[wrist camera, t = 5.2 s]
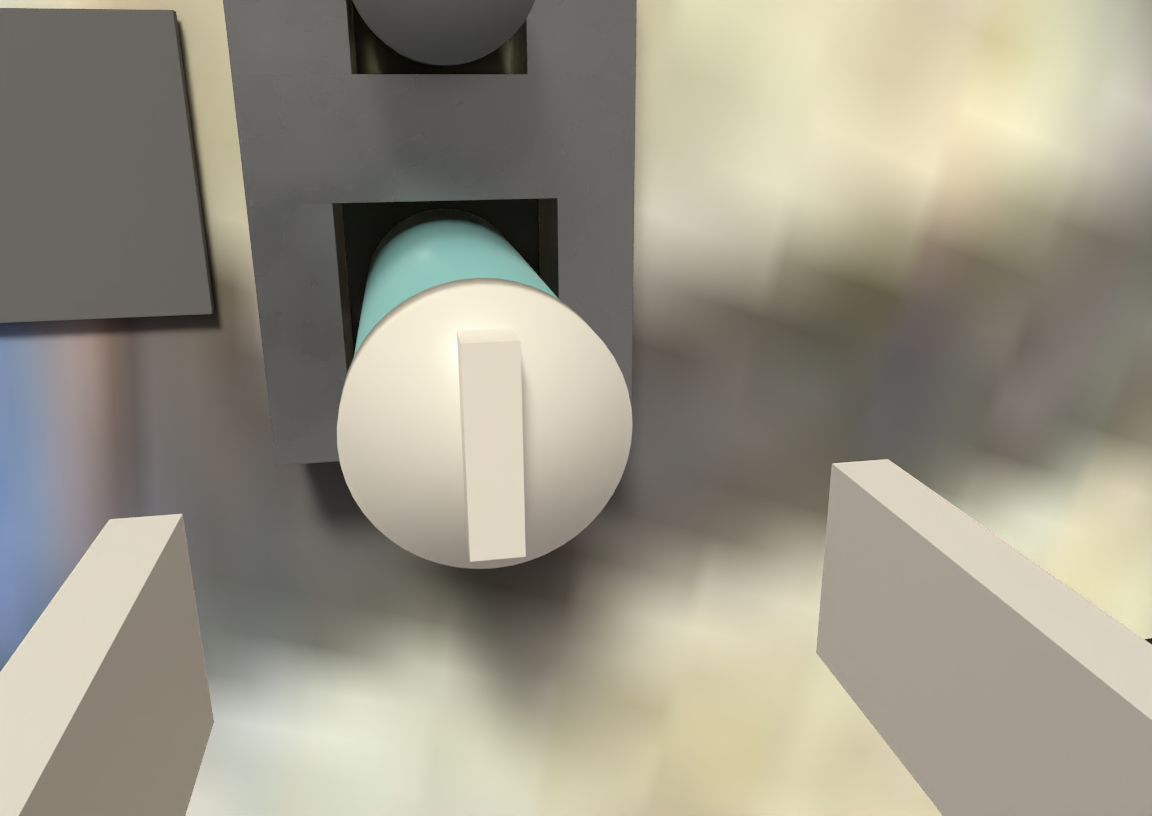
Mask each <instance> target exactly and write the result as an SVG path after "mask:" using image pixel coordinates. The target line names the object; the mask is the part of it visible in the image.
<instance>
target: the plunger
mask: <svg viewBox="0 0 1152 816" xmlns="http://www.w3.org/2000/svg"><path fill="white" fill-rule="evenodd" d="M352 1H353V3H354V5H355V7H356V9H357V11H358V13H359V14H360V16H361V17H362V19H363V20H364V22H365V23H366V24H367V26H368V27H369V28H370V29H371V30H372V31H373V33H374V34H375V35H376V36H377V37H378V38H379V39H381V40H382V41H383V42H384V43H385V44H386V45H388V46H389V47H391V48H392V49H393V50H394V51H396V52H397V53H399V54H400V55H402V56H404V57H406V58H408V59H409V60H412V61H415V62H418V63H422V64H427V65H444V66H447V65H459V64H464V63H468V62H472V61H474V60H477V59H480V58H482V57H484V56H486V55H488V54H489V53H491V52H493V51H494V50H496V49H497V48H499V47H500V46H501V45H503V44H504V43H505V42H507V41H508V40H509V39H510V38H511V37H512V36H513V35H514V34H515V33H516V32H517V30H518V29H519V28H520V27H521V25H522V24H523V23H524V21H525V20H526V18H527V16H528V15H529V13H530V11H531V9H532V7H533V4H534V2H535V0H352Z"/></svg>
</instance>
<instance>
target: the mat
mask: <svg viewBox="0 0 1152 816" xmlns="http://www.w3.org/2000/svg"><path fill="white" fill-rule="evenodd" d="M214 312H215V310H214V303H213V295H212V287H211V279H210V272H209V264H208V256H207V248H206V241H205V233H204V225H203V217H202V210H201V202H200V194H199V186H198V179H197V171H196V163H195V155H194V147H193V140H192V132H191V124H190V116H189V109H188V101H187V93H186V85H185V78H184V70H183V62H182V54H181V47H180V39H179V31H178V23H177V16H176V11H174V10H113V9H26V8H0V323H7V322H31V321H55V320H79V319H103V318H126V317H150V316H174V315H198V314H213V313H214Z"/></svg>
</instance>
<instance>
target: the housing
mask: <svg viewBox="0 0 1152 816" xmlns="http://www.w3.org/2000/svg"><path fill="white" fill-rule="evenodd" d="M223 4H224V12H225V21H226V30H227V39H228V47H229V56H230V65H231V74H232V83H233V91H234V100H235V109H236V118H237V126H238V135H239V144H240V153H241V161H242V170H243V179H244V188H245V196H246V205H247V214H248V223H249V231H250V240H251V249H252V258H253V267H254V275H255V284H256V293H257V302H258V310H259V319H260V328H261V337H262V345H263V354H264V363H265V372H266V380H267V389H268V398H269V407H270V416H271V424H272V433H273V442H274V451H275V459H276V466H277V465H291V464H306V463H320V462H335V461H340V460H339V454H338V448H337V422H338V414H339V407H340V401H341V396H342V391H343V387H344V383H345V379H346V375H347V372H348V369H349V367H350V365H351V362H352V360H353V358H354V347H353V335H352V323H351V311H350V299H349V286H348V274H347V262H346V250H345V238H344V226H343V214H342V203H366V202H409V201H452V200H496V199H538V212H539V264H540V278H541V279H542V281H543V282H544V283H545V284H546V285H547V286H548V287H549V289H550V290H551V291H552V292H553V293H554V294H555V295H556V297H557V298H558V299H559V300H560V301H562V302H563V303H565V304H566V305H567V306H568V307H570V308H571V309H572V310H573V311H575V312H576V313H577V314H578V315H579V316H580V317H581V318H582V319H583V320H584V321H585V322H586V323H587V325H588V326H589V327H590V328H591V329H592V330H593V331H594V332H595V333H596V334H597V336H598V337H599V338H600V339H601V340H602V341H603V342H604V344H605V345H606V346H607V348H608V349H609V351H610V352H611V354H612V355H613V357H614V358H615V360H616V362H617V364H618V366H619V368H620V370H621V372H622V374H623V377H624V380H625V383H626V386H627V389H628V393H629V398H630V403H631V408H632V327H633V244H634V162H635V79H636V0H535V2H534V4H533V7H532V9H531V11H530V13H529V15H528V16H527V18H526V20H525V21H524V23H523V24H522V25H521V27H520V28H519V29H518V30H517V32H516V33H515V34H514V35H513V36H512V37H511V38H510V53H511V74H357V63H356V50H355V36H354V23H353V9H352V0H223Z"/></svg>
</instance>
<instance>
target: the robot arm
mask: <svg viewBox="0 0 1152 816" xmlns="http://www.w3.org/2000/svg"><path fill="white" fill-rule="evenodd" d="M816 653H817V654H818V656H819V657H820V658H821V659H822V661H823V662H824V663H825V665H826V666H827V667H828V668H829V670H830V671H831V672H832V674H833V675H834V676H835V677H836V679H837V680H838V681H839V683H840V684H841V685H842V686H843V688H844V689H845V690H846V692H847V693H848V694H849V695H850V697H851V698H852V699H853V701H854V702H855V703H856V704H857V706H858V707H859V708H860V710H861V711H862V712H863V713H864V715H865V716H866V717H867V719H868V720H869V721H870V722H871V724H872V725H873V726H874V728H875V729H876V730H877V731H878V733H879V734H880V735H881V737H882V738H883V739H884V740H885V742H886V743H887V744H888V746H889V747H890V748H891V749H892V751H893V752H894V753H895V755H896V756H897V757H898V758H899V760H900V761H901V762H902V764H903V765H904V766H905V767H906V769H907V770H908V771H909V773H910V774H911V775H912V776H913V778H914V779H915V780H916V782H917V783H918V784H919V785H920V787H921V788H922V789H923V791H924V792H925V793H926V794H927V796H928V797H929V798H930V800H931V801H932V802H933V803H934V805H935V806H936V807H937V809H938V810H939V811H940V812H941V814H942V815H943V816H1152V638H1151V639H1143V638H1142V637H1140V636H1139V635H1137V634H1136V633H1135V632H1133V631H1132V630H1130V629H1129V628H1127V627H1126V626H1125V625H1123V624H1122V623H1120V622H1119V621H1117V620H1116V619H1115V618H1113V617H1112V616H1110V615H1109V614H1108V613H1106V612H1105V611H1103V610H1102V609H1100V608H1099V607H1098V606H1096V605H1095V604H1093V603H1092V602H1090V601H1089V600H1088V599H1086V598H1085V597H1083V596H1082V595H1080V594H1079V593H1078V592H1076V591H1075V590H1073V589H1072V588H1070V587H1069V586H1068V585H1066V584H1065V583H1063V582H1062V581H1061V580H1059V579H1058V578H1056V577H1055V576H1053V575H1052V574H1051V573H1049V572H1048V571H1046V570H1045V569H1043V568H1042V567H1041V566H1039V565H1038V564H1036V563H1035V562H1033V561H1032V560H1031V559H1029V558H1028V557H1026V556H1025V555H1023V554H1022V553H1021V552H1019V551H1018V550H1016V549H1015V548H1014V547H1012V546H1011V545H1009V544H1008V543H1006V542H1005V541H1004V540H1002V539H1001V538H999V537H998V536H996V535H995V534H994V533H992V532H991V531H989V530H988V529H986V528H985V527H984V526H982V525H981V524H979V523H978V522H976V521H975V520H974V519H972V518H971V517H969V516H968V515H967V514H965V513H964V512H962V511H961V510H959V509H958V508H957V507H955V506H954V505H952V504H951V503H949V502H948V501H947V500H945V499H944V498H942V497H941V496H939V495H938V494H937V493H935V492H934V491H932V490H931V489H930V488H928V487H927V486H925V485H924V484H922V483H921V482H920V481H918V480H917V479H915V478H914V477H912V476H911V475H910V474H908V473H907V472H905V471H904V470H902V469H901V468H900V467H898V466H897V465H895V464H894V463H892V462H891V461H890V460H888V459H885V460H872V461H859V462H846V463H833V464H832V470H831V482H830V494H829V506H828V518H827V530H826V542H825V554H824V566H823V578H822V590H821V602H820V614H819V626H818V638H817V650H816ZM213 723H214V720H213V713H212V707H211V700H210V694H209V687H208V680H207V674H206V667H205V660H204V654H203V647H202V640H201V634H200V627H199V620H198V614H197V607H196V600H195V594H194V587H193V580H192V574H191V567H190V561H189V554H188V547H187V541H186V534H185V527H184V521H183V514H174V515H161V516H148V517H135V518H122V519H110V520H109V521H108V522H107V524H106V525H105V527H104V528H103V529H102V531H101V532H100V534H99V535H98V536H97V538H96V539H95V541H94V542H93V543H92V545H91V546H90V548H89V549H88V550H87V552H86V553H85V555H84V556H83V557H82V559H81V560H80V562H79V563H78V564H77V566H76V567H75V569H74V570H73V571H72V573H71V574H70V576H69V577H68V578H67V580H66V581H65V583H64V584H63V585H62V587H61V588H60V590H59V591H58V592H57V594H56V595H55V597H54V598H53V599H52V601H51V602H50V603H49V605H48V606H47V608H46V609H45V610H44V612H43V613H42V615H41V616H40V617H39V619H38V620H37V622H36V623H35V624H34V626H33V627H32V629H31V630H30V631H29V633H28V634H27V636H26V637H25V638H24V640H23V641H22V643H21V644H20V645H19V647H18V648H17V650H16V651H15V652H14V654H13V655H12V657H11V658H10V659H9V661H8V662H7V664H6V665H5V666H4V668H3V669H2V671H1V672H0V816H185V814H186V811H187V808H188V805H189V801H190V798H191V795H192V791H193V788H194V785H195V782H196V778H197V775H198V772H199V768H200V765H201V762H202V759H203V755H204V752H205V749H206V746H207V742H208V739H209V736H210V732H211V729H212V726H213Z"/></svg>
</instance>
